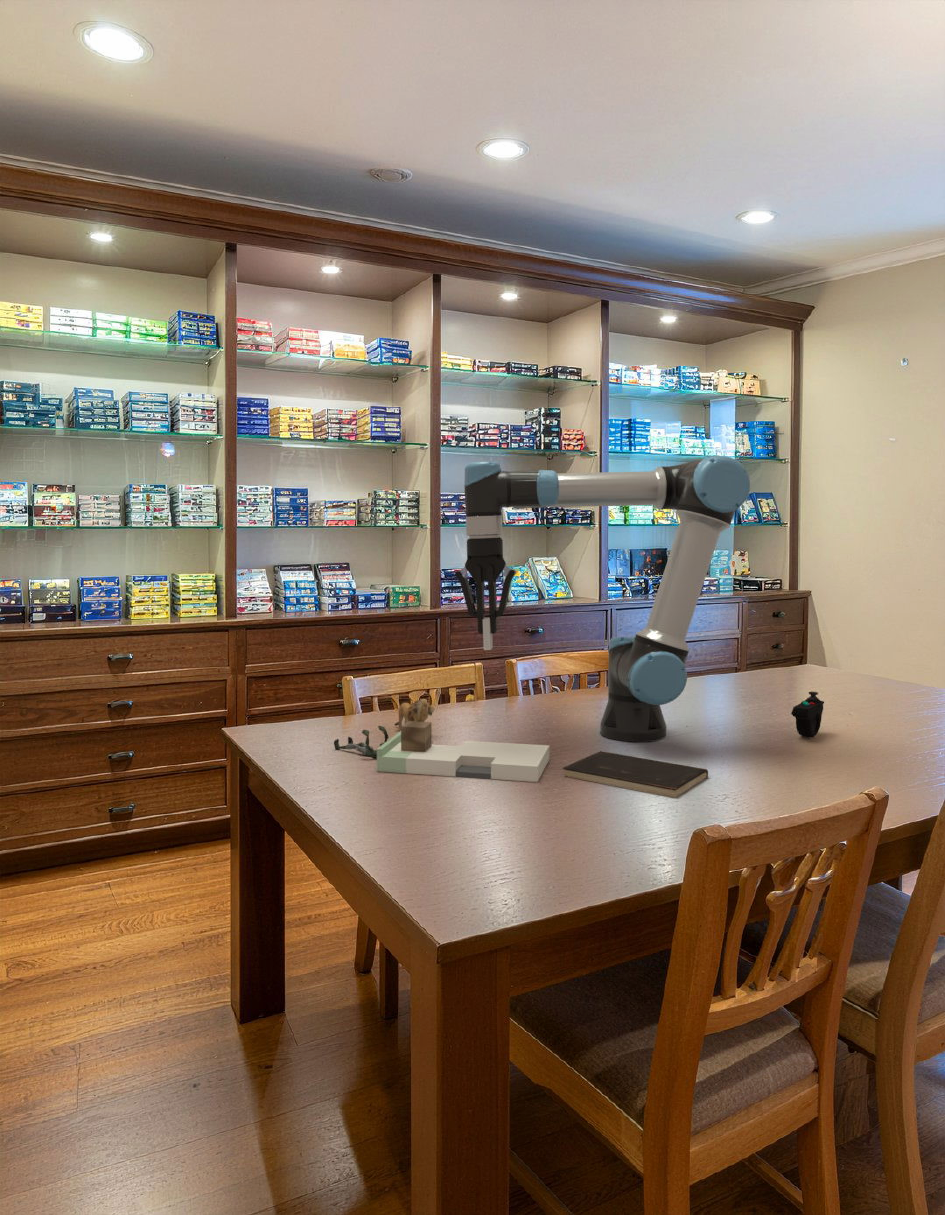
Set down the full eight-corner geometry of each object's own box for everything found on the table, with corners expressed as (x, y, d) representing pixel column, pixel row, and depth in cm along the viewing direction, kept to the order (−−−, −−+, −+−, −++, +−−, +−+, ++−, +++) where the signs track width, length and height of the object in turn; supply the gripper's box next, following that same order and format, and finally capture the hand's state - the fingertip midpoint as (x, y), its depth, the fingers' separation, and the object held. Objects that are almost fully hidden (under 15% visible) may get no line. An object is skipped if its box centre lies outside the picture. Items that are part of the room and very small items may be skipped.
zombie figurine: (351, 716, 189) (397, 728, 178) (351, 747, 189) (396, 760, 179) (332, 720, 185) (377, 732, 174) (331, 751, 185) (376, 765, 175)
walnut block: (431, 746, 177) (431, 722, 176) (424, 752, 172) (424, 727, 171) (408, 744, 178) (408, 721, 177) (401, 750, 173) (400, 726, 173)
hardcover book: (674, 801, 152) (675, 788, 152) (562, 779, 166) (562, 767, 166) (708, 780, 165) (708, 768, 165) (601, 761, 179) (601, 750, 178)
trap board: (549, 759, 177) (549, 738, 177) (537, 782, 162) (537, 758, 161) (401, 750, 185) (401, 730, 184) (377, 771, 169) (376, 749, 169)
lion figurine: (437, 737, 196) (437, 699, 195) (417, 741, 193) (417, 702, 192) (403, 725, 208) (403, 689, 207) (384, 728, 205) (384, 691, 204)
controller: (825, 733, 199) (826, 691, 199) (807, 744, 190) (809, 700, 189) (806, 731, 202) (807, 689, 201) (788, 741, 193) (789, 697, 192)
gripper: (517, 535, 181) (521, 646, 183) (457, 537, 183) (461, 646, 185) (512, 536, 173) (516, 651, 176) (450, 538, 176) (454, 652, 178)
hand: (488, 648), depth 181 cm, fingers closed
